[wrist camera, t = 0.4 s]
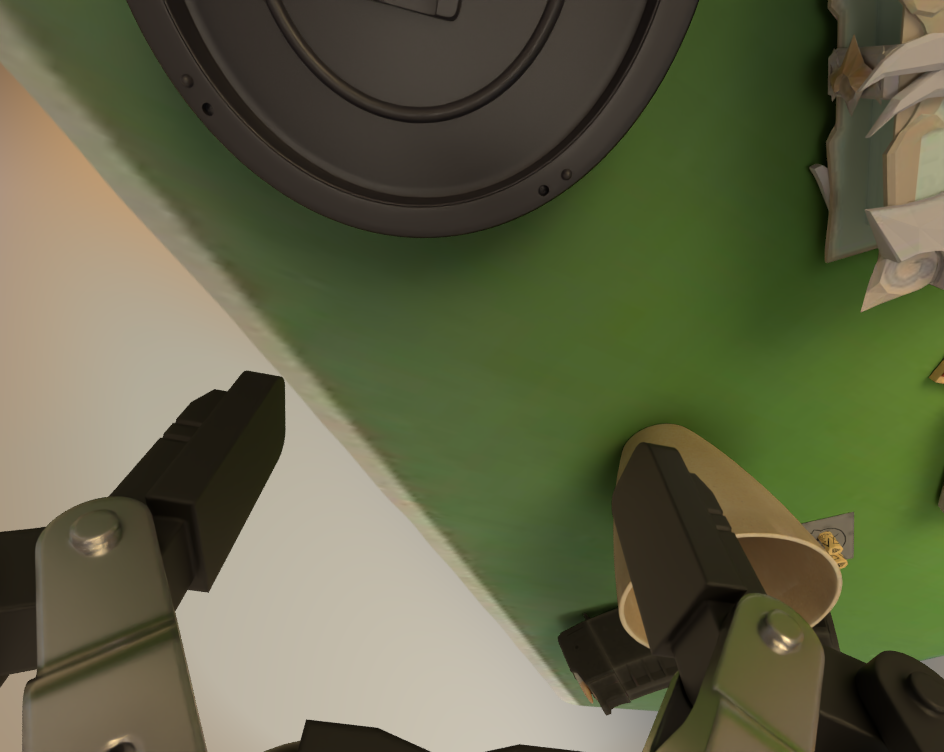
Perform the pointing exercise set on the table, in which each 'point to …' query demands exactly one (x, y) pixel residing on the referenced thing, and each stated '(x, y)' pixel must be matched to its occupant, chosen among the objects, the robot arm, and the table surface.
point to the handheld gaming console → (941, 500)
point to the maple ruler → (938, 374)
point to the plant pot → (741, 532)
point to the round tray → (417, 97)
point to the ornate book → (887, 143)
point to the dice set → (835, 536)
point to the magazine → (628, 659)
